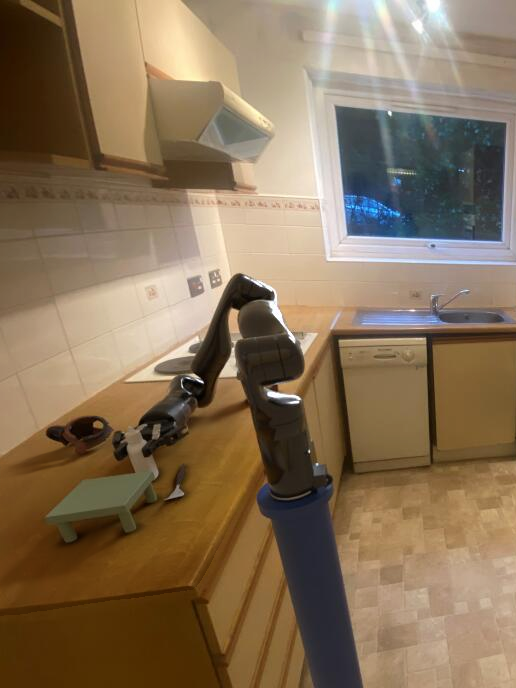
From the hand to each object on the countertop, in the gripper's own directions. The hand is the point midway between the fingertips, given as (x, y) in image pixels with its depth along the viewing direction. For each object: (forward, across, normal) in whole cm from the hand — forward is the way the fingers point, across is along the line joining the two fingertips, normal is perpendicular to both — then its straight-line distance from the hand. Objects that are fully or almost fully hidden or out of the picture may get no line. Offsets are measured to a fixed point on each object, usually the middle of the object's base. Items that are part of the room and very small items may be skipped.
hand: (131, 455), depth 87 cm
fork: (+2, +7, +7) cm, 10 cm away
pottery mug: (-22, -20, +7) cm, 30 cm away
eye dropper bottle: (-3, 0, +7) cm, 8 cm away
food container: (-42, +13, +7) cm, 44 cm away
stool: (+11, 0, +7) cm, 13 cm away
